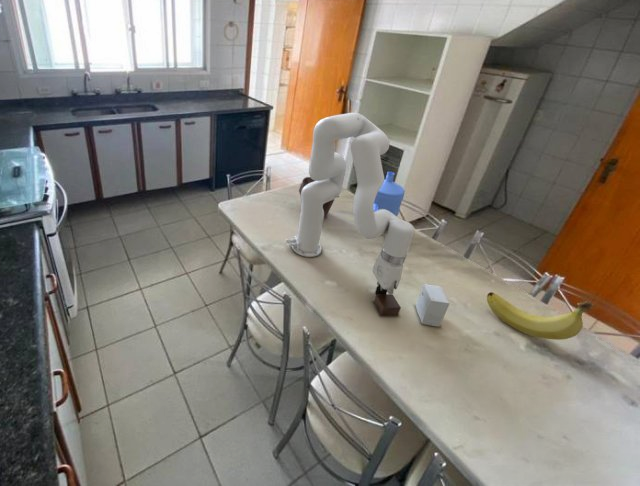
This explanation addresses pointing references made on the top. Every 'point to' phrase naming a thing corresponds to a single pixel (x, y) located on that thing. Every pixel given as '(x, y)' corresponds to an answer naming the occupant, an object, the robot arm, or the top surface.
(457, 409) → the top surface
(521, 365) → the top surface
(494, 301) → the banana
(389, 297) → the walnut block
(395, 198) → the water jug
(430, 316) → the small box
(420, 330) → the top surface
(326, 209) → the case
